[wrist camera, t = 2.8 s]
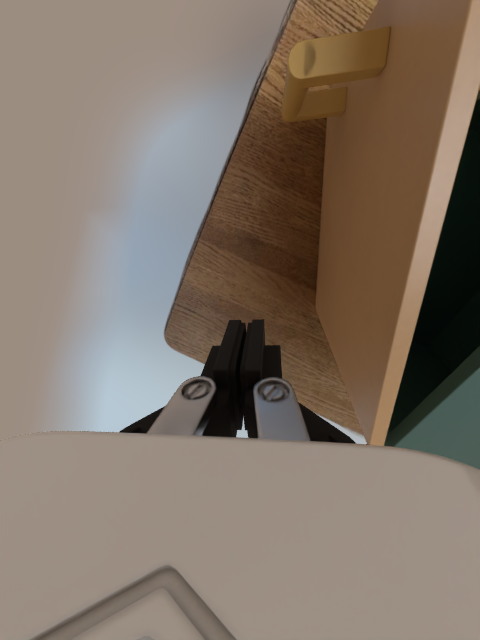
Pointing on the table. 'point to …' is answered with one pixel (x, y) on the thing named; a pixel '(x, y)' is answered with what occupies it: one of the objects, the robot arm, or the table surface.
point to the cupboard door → (384, 178)
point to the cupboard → (448, 332)
